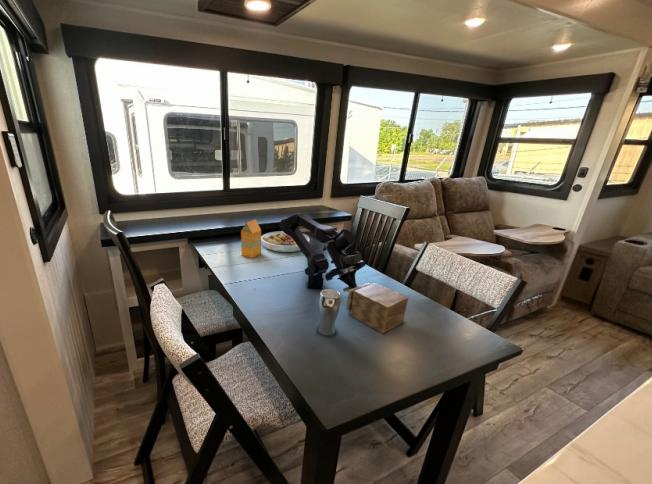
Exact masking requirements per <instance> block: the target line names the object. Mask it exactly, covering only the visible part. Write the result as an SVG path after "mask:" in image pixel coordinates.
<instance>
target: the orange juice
mask: <svg viewBox="0 0 652 484" xmlns="http://www.w3.org/2000/svg"><path fill="white" fill-rule="evenodd" d="M261 237H262V229H261V227H260V225H259V223H258V221H257V219H256V218H255V219H252V220H249V221H246V222H245V224H244V226H243V227H242V229H241V230H240V244H241V247H240V248H241V256H243V257H246V258H250V259H253V258H256V257H257V256H259V255H261V254H262V242H261Z"/></svg>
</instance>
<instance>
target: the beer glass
mask: <svg viewBox="0 0 652 484" xmlns="http://www.w3.org/2000/svg"><path fill="white" fill-rule="evenodd" d="M340 306H341V293H340V292H339V290H335V289H332V288H325V289H323V290H322V289H321V291H320V295H319V300H318V316H319V324H318V327H317V332H318V333H319V334H320V335H322V336H324V337H325V336H326V337H329V336H330V337H331V336H333V335H335V333H336V321H337V318H338V314H339V312H340Z"/></svg>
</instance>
